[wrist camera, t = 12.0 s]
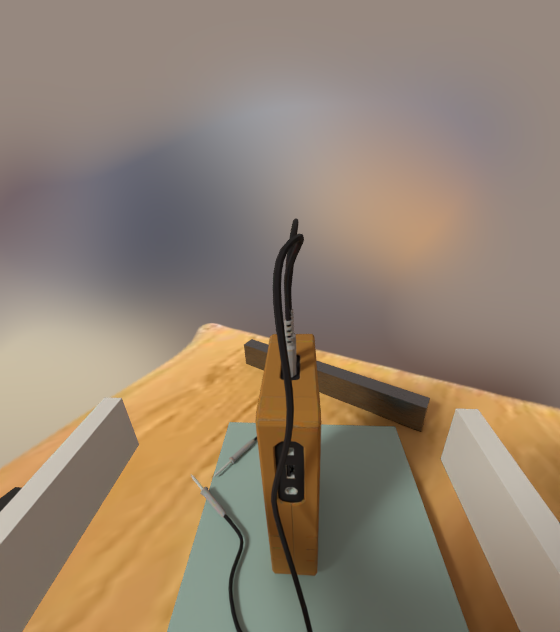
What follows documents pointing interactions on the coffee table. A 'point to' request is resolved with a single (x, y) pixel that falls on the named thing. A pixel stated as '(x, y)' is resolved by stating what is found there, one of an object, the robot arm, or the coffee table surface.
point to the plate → (322, 547)
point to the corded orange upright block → (286, 442)
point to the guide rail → (358, 390)
